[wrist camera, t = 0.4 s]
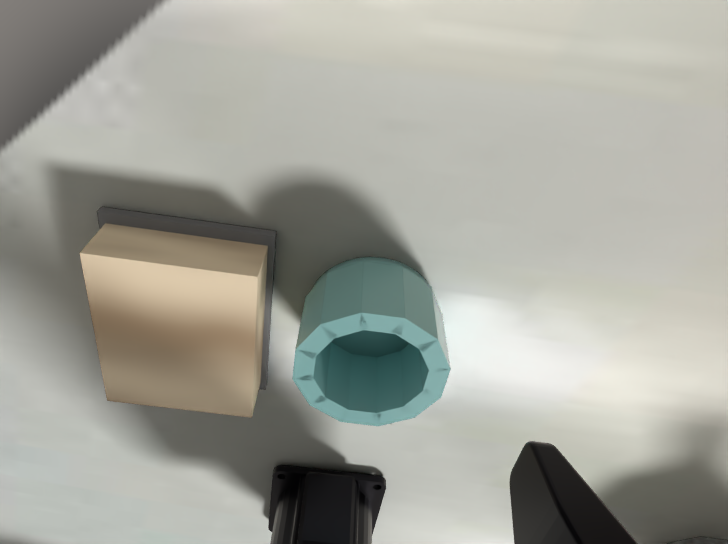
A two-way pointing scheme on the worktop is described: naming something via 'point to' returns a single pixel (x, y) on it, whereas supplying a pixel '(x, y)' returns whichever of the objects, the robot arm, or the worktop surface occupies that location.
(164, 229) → the mat
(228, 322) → the board
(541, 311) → the worktop surface
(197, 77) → the worktop surface
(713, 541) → the mortar and pestle
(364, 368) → the ramekin
